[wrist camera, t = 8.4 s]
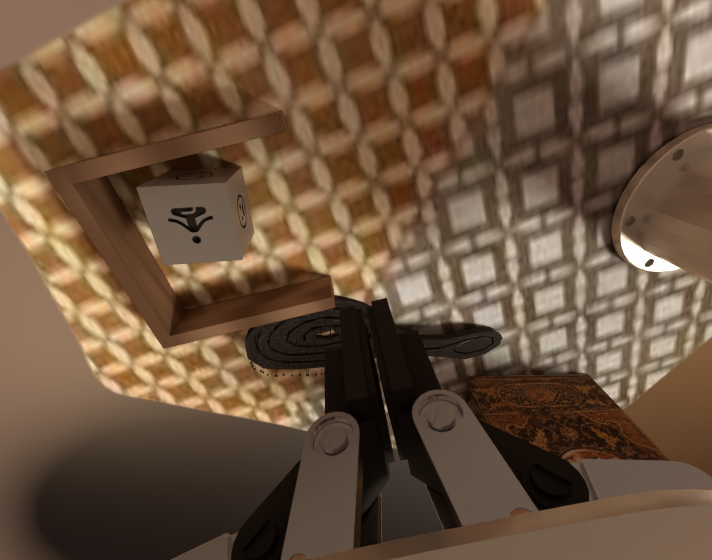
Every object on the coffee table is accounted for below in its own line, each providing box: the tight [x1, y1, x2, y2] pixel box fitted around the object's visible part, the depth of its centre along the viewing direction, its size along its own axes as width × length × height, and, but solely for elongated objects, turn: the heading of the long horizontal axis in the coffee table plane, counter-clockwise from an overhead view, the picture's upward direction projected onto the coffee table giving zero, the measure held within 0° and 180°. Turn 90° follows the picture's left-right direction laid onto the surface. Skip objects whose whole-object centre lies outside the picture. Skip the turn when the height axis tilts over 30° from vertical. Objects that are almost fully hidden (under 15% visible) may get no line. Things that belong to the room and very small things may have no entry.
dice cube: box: [136, 167, 254, 265], centre depth 23 cm, size 5×5×5 cm
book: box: [466, 374, 671, 463], centre depth 28 cm, size 16×6×25 cm, turn 85°
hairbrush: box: [245, 295, 502, 377], centre depth 32 cm, size 8×4×25 cm
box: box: [45, 111, 335, 348], centre depth 24 cm, size 14×14×4 cm
